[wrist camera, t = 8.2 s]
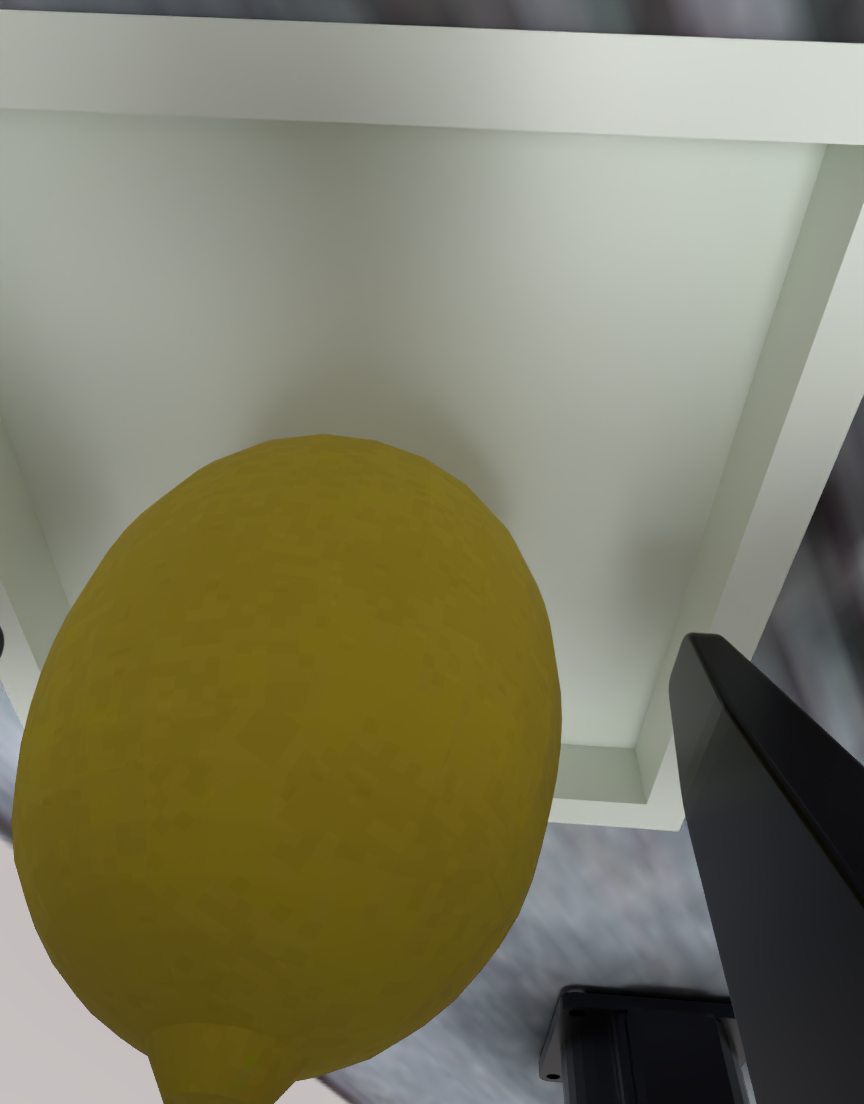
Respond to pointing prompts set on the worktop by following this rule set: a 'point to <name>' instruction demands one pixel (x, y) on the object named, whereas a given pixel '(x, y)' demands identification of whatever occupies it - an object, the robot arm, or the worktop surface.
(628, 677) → the tray
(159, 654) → the lemon
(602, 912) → the worktop surface
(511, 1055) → the worktop surface
